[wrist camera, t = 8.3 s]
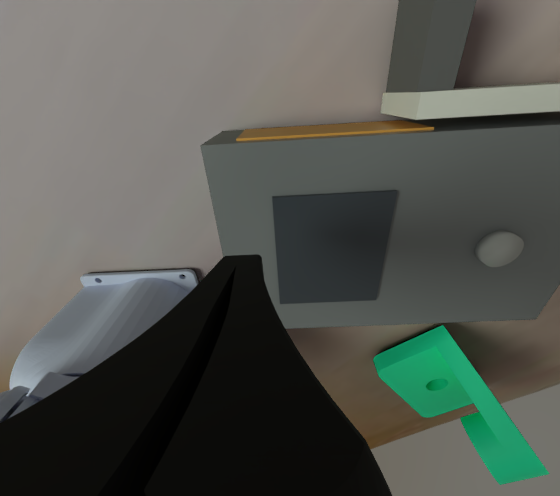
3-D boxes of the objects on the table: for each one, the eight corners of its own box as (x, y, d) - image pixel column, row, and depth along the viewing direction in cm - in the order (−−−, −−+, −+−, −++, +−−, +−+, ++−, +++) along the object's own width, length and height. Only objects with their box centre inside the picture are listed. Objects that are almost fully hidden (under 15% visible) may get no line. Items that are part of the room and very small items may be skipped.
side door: (380, 113, 14) (415, 119, 11) (396, -7, 12) (451, -53, 8) (558, 102, 14) (658, 105, 10) (615, -23, 12) (775, -79, 8)
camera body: (246, 283, 22) (237, 337, 17) (222, 129, 15) (195, 145, 11) (508, 272, 21) (575, 325, 16) (595, 107, 15) (746, 113, 10)
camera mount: (366, 348, 27) (409, 474, 18) (436, 315, 24) (527, 443, 15) (414, 396, 31) (467, 513, 23) (477, 372, 29) (564, 494, 20)
